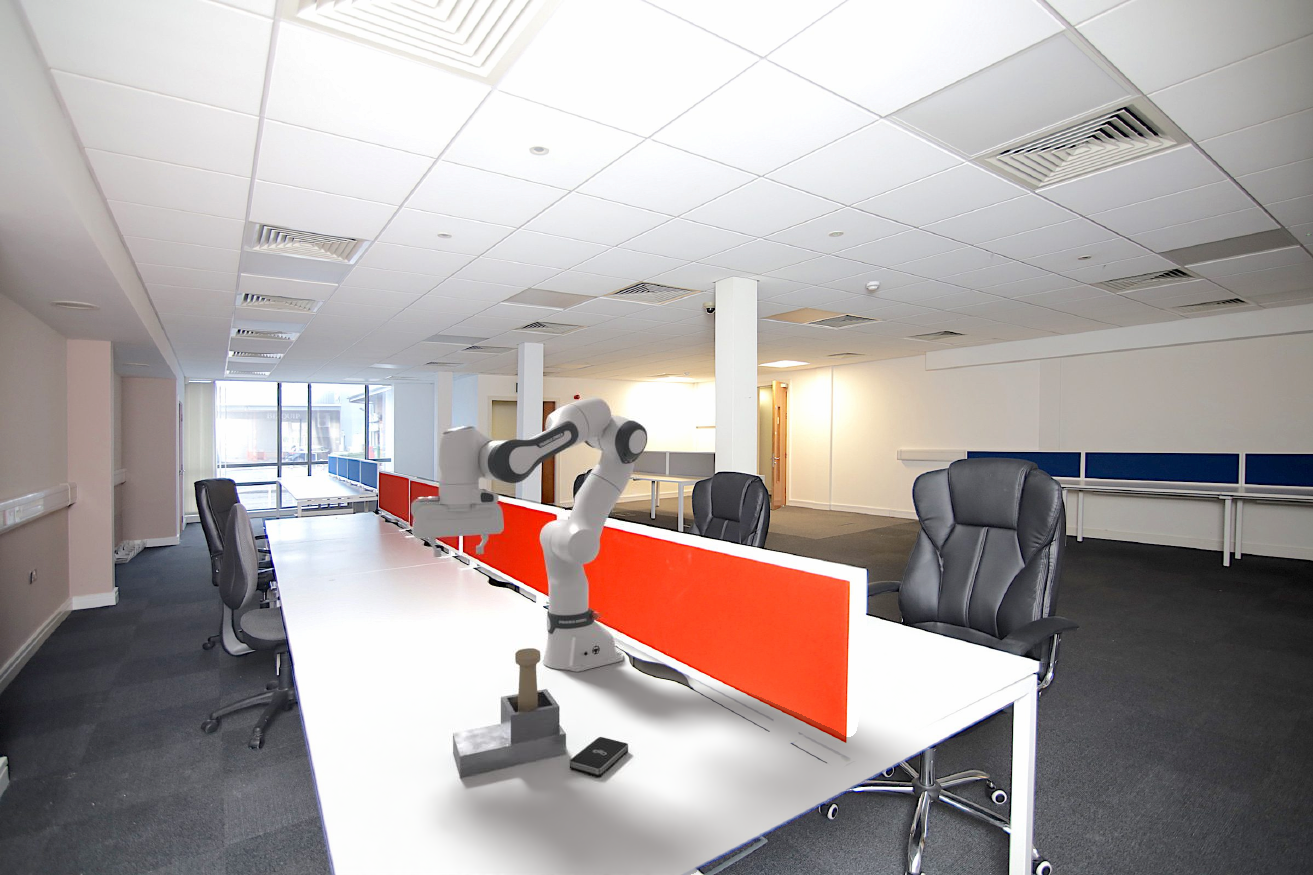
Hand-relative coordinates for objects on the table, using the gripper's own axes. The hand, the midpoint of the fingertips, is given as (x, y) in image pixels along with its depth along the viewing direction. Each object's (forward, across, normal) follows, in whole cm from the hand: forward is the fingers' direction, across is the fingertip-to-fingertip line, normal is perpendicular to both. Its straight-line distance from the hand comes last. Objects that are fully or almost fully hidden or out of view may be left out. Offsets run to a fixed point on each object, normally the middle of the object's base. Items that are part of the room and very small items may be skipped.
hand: (458, 555), depth 143 cm
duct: (+35, +6, -27) cm, 45 cm away
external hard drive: (+36, +21, -37) cm, 56 cm away
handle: (+31, +10, -27) cm, 42 cm away
